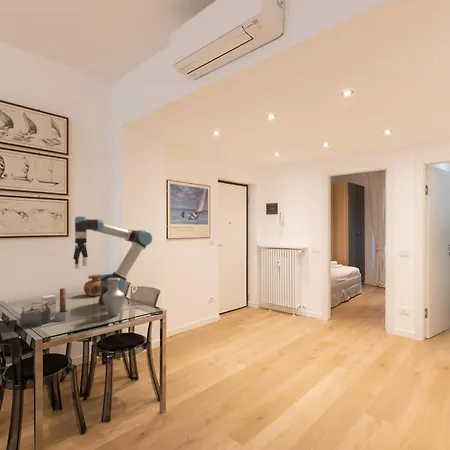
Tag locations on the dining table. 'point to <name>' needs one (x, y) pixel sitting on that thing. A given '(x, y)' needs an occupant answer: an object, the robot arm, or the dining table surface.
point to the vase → (113, 297)
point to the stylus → (63, 300)
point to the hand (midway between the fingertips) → (80, 267)
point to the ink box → (52, 302)
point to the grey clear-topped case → (35, 314)
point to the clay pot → (93, 285)
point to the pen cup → (62, 316)
